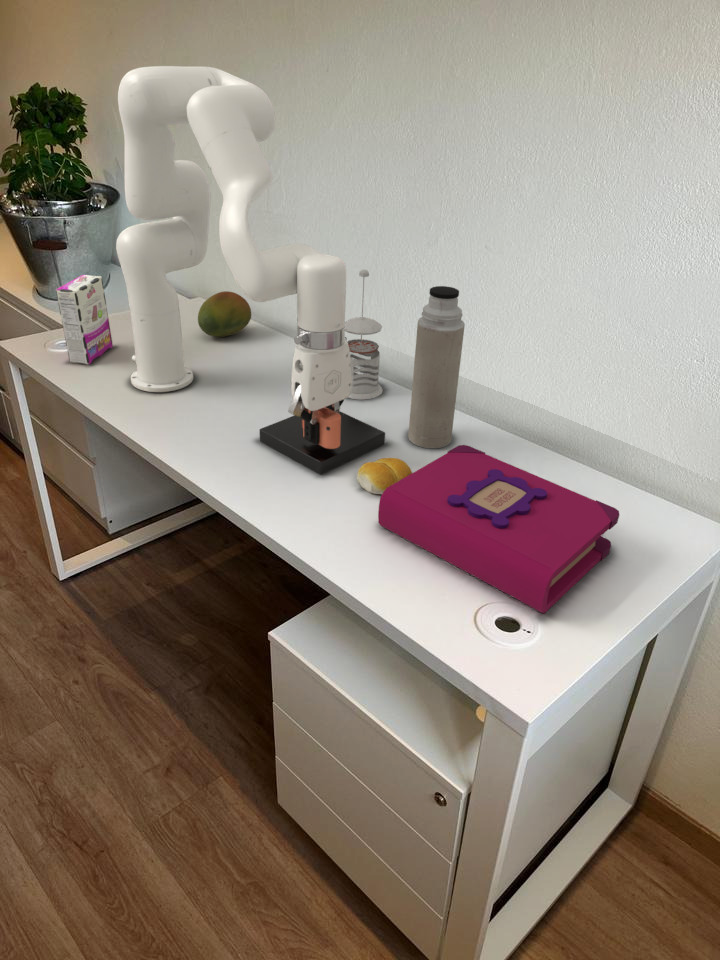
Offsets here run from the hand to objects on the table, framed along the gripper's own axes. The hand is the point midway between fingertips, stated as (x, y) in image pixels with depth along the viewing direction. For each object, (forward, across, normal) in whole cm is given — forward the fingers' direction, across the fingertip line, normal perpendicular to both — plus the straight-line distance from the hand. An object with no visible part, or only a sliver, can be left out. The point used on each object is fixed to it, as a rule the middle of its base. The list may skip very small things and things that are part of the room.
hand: (320, 436), depth 127 cm
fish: (0, 0, 0) cm, 0 cm away
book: (+4, +2, -35) cm, 36 cm away
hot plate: (+4, +4, +4) cm, 7 cm away
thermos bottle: (+4, +20, -8) cm, 22 cm away
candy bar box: (+4, -6, +68) cm, 68 cm away
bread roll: (+4, +2, -13) cm, 14 cm away
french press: (+4, +25, +16) cm, 30 cm away
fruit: (+4, +24, +59) cm, 63 cm away
